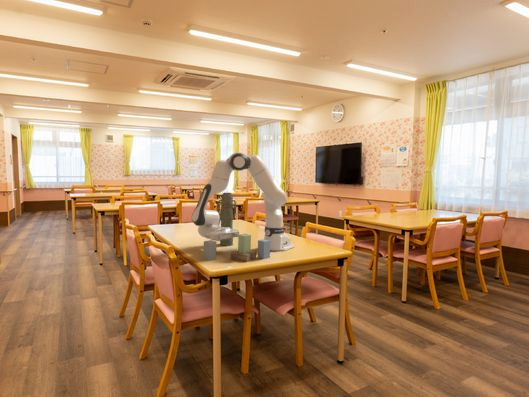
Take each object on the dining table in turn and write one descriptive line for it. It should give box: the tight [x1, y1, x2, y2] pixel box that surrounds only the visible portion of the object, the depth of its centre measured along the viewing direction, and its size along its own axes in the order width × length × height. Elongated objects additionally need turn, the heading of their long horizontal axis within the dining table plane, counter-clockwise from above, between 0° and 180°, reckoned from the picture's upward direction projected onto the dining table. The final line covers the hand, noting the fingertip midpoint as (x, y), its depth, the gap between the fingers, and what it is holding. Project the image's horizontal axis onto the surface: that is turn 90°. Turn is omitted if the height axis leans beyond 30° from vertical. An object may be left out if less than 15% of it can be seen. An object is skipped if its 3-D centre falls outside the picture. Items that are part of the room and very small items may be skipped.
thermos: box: [217, 192, 237, 247], centre depth 232 cm, size 9×12×35 cm
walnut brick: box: [230, 250, 257, 263], centre depth 197 cm, size 12×10×4 cm
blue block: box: [257, 238, 271, 260], centre depth 200 cm, size 5×5×10 cm
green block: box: [237, 233, 252, 254], centre depth 196 cm, size 5×5×10 cm
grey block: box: [203, 239, 217, 261], centre depth 194 cm, size 5×5×10 cm
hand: (232, 236), depth 203 cm, fingers open, 8 cm apart
